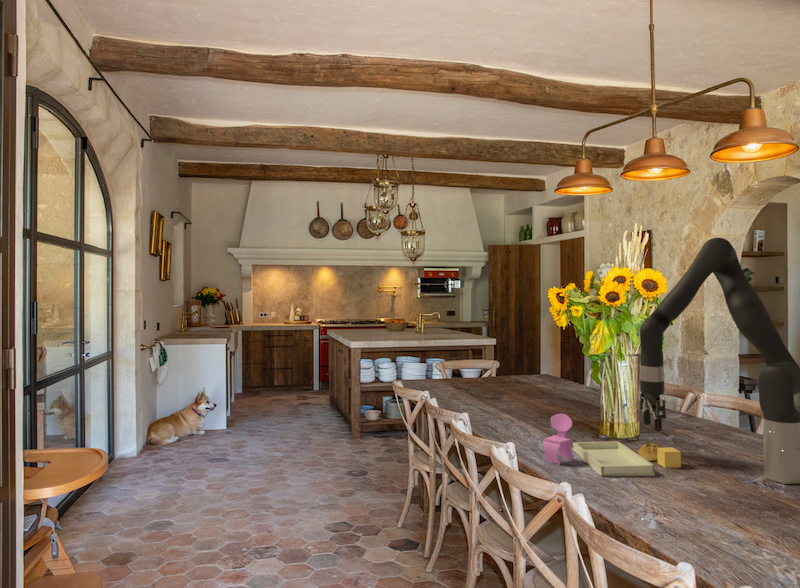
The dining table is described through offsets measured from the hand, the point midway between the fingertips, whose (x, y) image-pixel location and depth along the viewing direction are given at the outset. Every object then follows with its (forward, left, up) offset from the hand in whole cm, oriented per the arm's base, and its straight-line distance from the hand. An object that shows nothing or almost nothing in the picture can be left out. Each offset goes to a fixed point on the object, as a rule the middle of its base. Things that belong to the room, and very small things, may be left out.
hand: (652, 427), depth 188 cm
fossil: (-1, 0, -10) cm, 10 cm away
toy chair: (-3, +32, -10) cm, 34 cm away
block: (-10, -1, -10) cm, 14 cm away
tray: (-6, +16, -10) cm, 20 cm away
